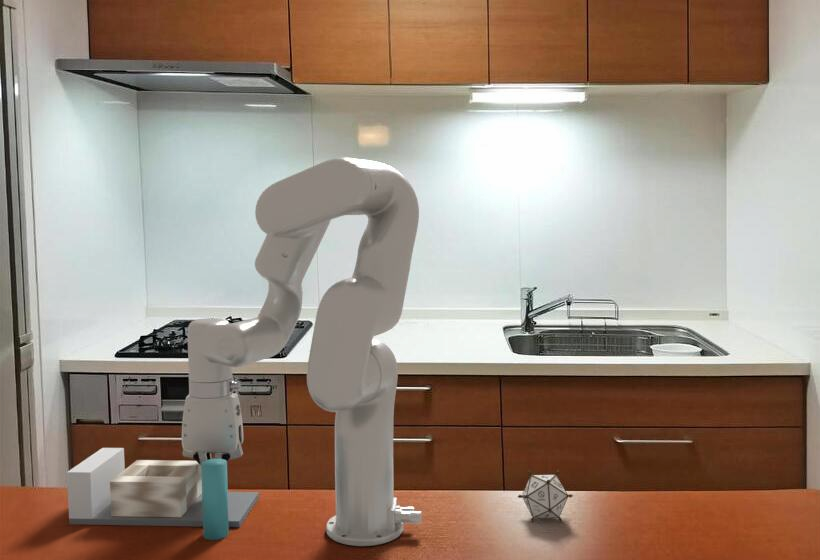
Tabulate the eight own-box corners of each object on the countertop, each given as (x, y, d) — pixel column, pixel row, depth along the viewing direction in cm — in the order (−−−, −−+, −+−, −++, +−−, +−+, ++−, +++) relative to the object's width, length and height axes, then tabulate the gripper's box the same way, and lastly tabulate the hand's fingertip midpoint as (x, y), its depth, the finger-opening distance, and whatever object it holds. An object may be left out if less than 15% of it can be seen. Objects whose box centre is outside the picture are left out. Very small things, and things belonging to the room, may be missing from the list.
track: (259, 497, 137) (258, 449, 136) (239, 527, 124) (238, 474, 123) (104, 495, 139) (102, 447, 138) (69, 524, 126) (66, 472, 125)
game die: (549, 535, 129) (575, 484, 132) (560, 538, 121) (588, 483, 123) (503, 508, 130) (530, 457, 133) (511, 509, 122) (540, 455, 124)
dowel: (231, 529, 123) (229, 458, 122) (224, 540, 119) (222, 467, 118) (208, 529, 124) (205, 458, 122) (200, 539, 120) (197, 466, 118)
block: (202, 492, 137) (201, 460, 136) (181, 517, 126) (179, 482, 125) (138, 491, 137) (136, 460, 137) (111, 516, 126) (109, 481, 126)
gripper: (258, 384, 136) (259, 482, 138) (177, 383, 137) (180, 480, 139) (246, 394, 129) (248, 497, 130) (161, 392, 129) (164, 495, 131)
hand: (213, 488), depth 134 cm, fingers closed
